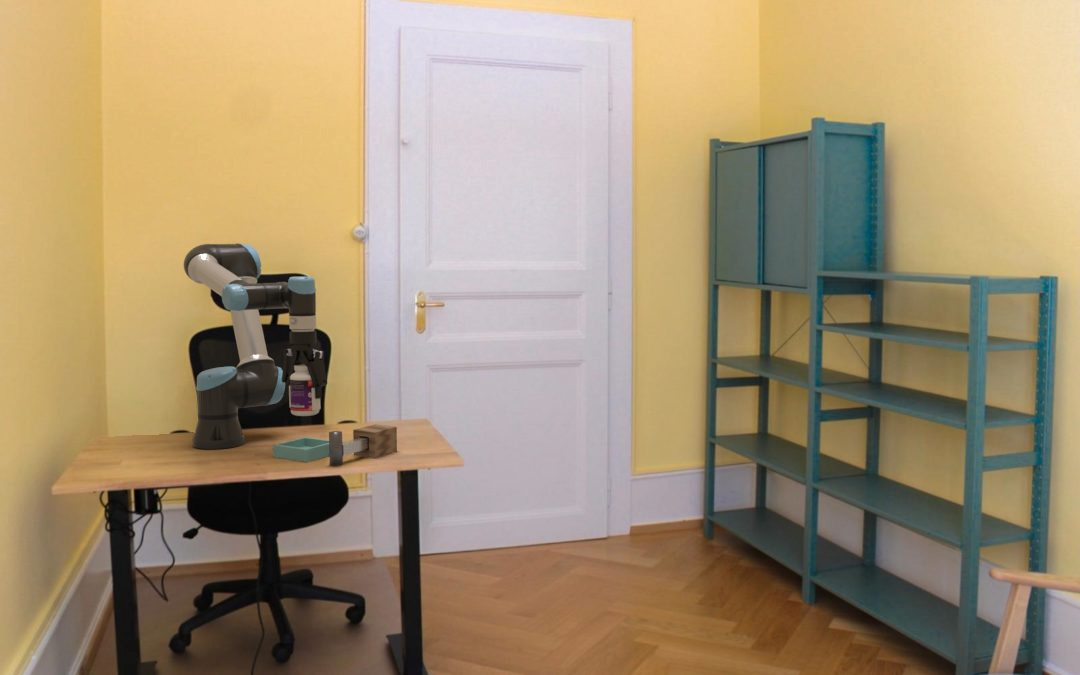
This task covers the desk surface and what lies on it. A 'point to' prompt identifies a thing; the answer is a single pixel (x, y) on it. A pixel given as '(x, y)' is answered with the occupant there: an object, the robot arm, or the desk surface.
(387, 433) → the mount
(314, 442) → the tray
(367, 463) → the desk surface
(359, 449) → the grey t-shaped piece
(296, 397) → the pill bottle
